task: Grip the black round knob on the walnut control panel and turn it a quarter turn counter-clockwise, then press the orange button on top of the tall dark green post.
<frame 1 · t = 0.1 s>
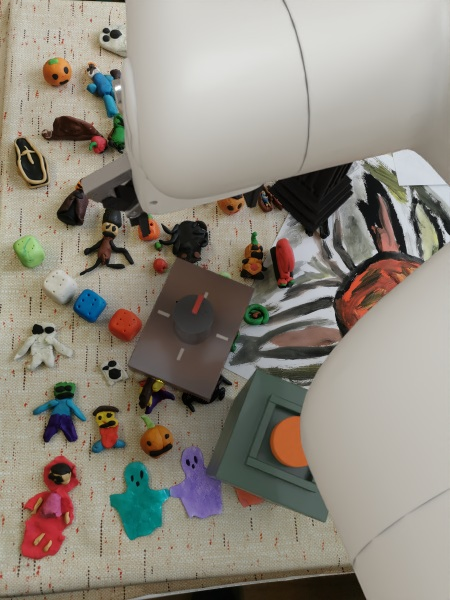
hand: (194, 207, 49), 20 cm above the table, tool pointing down, fingers open, 9 cm apart
handle: (153, 170, 73), on the table
knob: (193, 319, 61), point 6 cm above the table, hinge at 0.0°
button: (295, 441, 41), point 23 cm above the table, slide at 0.0 cm
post: (256, 451, 63), on the table
chess piece: (309, 194, 73), on the table
panel: (192, 331, 67), on the table
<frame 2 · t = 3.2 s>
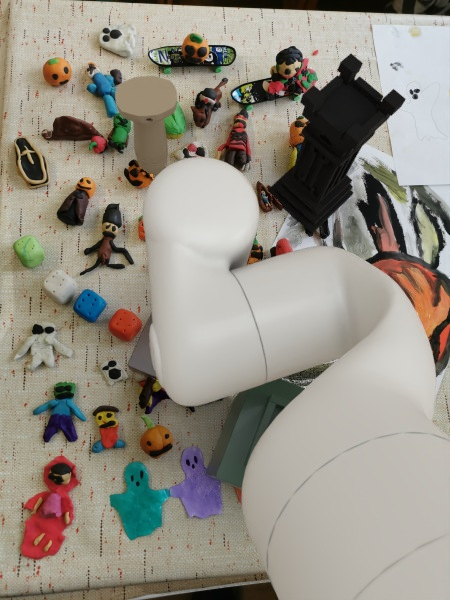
hand: (192, 324, 63), 4 cm above the table, tool pointing down, fingers closed on knob, 4 cm apart
knob: (193, 319, 61), point 6 cm above the table, hinge at -0.2°, touching gripper
everything else where it was.
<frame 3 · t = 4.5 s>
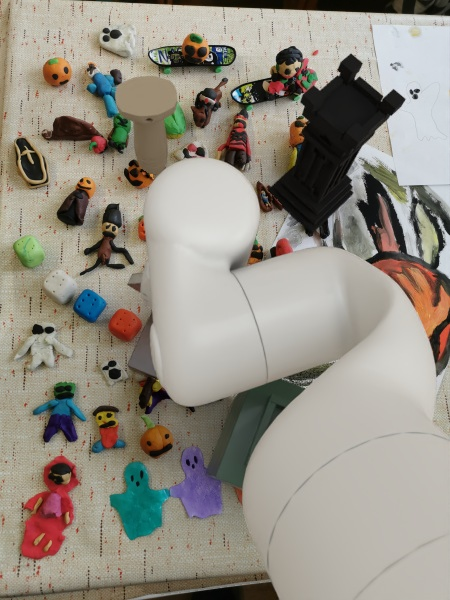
hand: (193, 323, 63), 4 cm above the table, tool pointing down, fingers closed on knob, 4 cm apart
knob: (193, 319, 61), point 6 cm above the table, hinge at 90.6°, touching gripper
everything else where it was.
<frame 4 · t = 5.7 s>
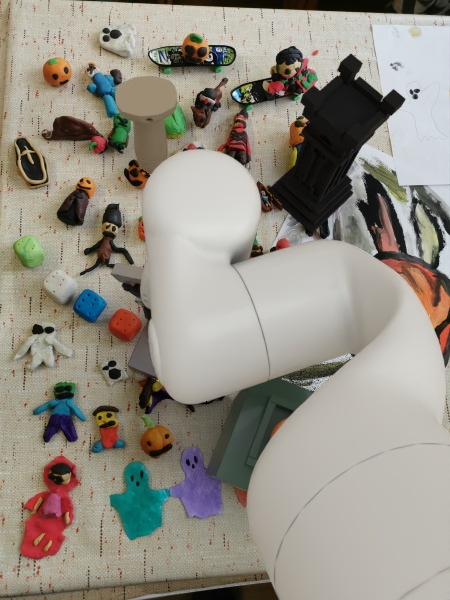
hand: (194, 323, 61), 6 cm above the table, tool pointing down, fingers open, 9 cm apart
knob: (193, 319, 61), point 6 cm above the table, hinge at 92.3°
everything else where it was.
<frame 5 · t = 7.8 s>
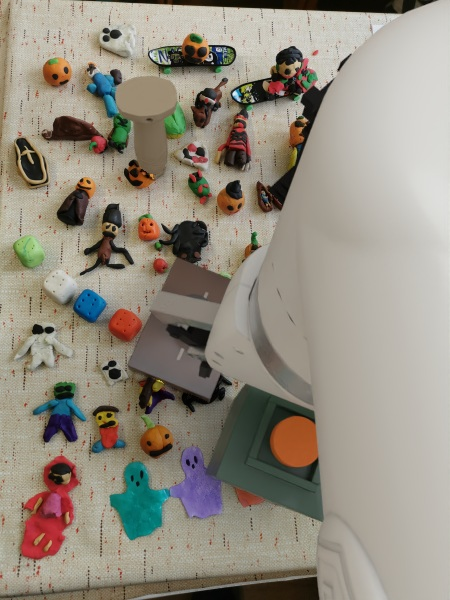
hand: (277, 383, 38), 27 cm above the table, tool pointing down, fingers open, 9 cm apart
nothing on the table moved.
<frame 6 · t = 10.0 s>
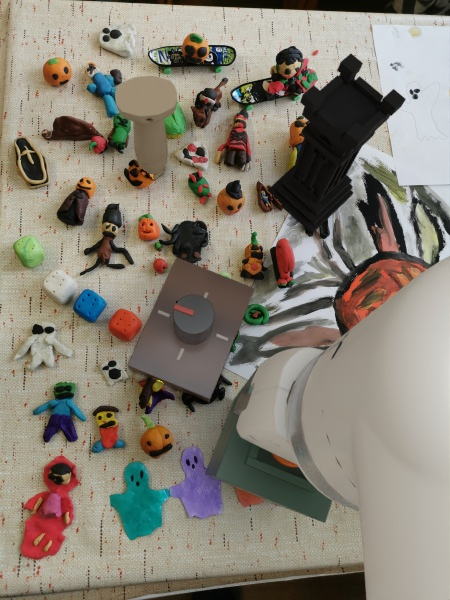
hand: (295, 440, 41), 23 cm above the table, tool pointing down, fingers closed
button: (293, 442, 42), point 22 cm above the table, slide at -0.8 cm, touching gripper
everything else where it was.
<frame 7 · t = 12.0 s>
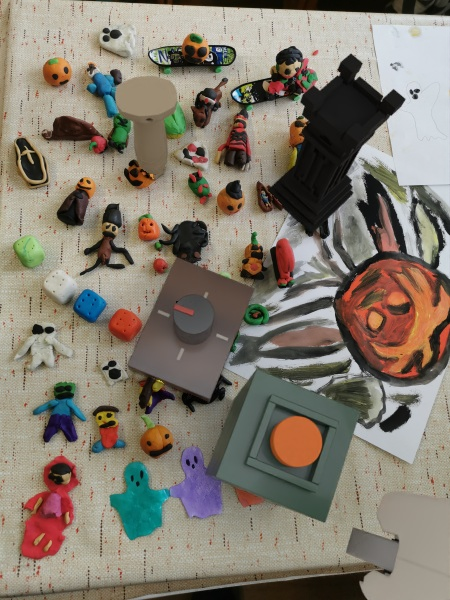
hand: (405, 564, 32), 31 cm above the table, tool pointing down, fingers closed
button: (295, 441, 41), point 23 cm above the table, slide at 0.1 cm
everything else where it was.
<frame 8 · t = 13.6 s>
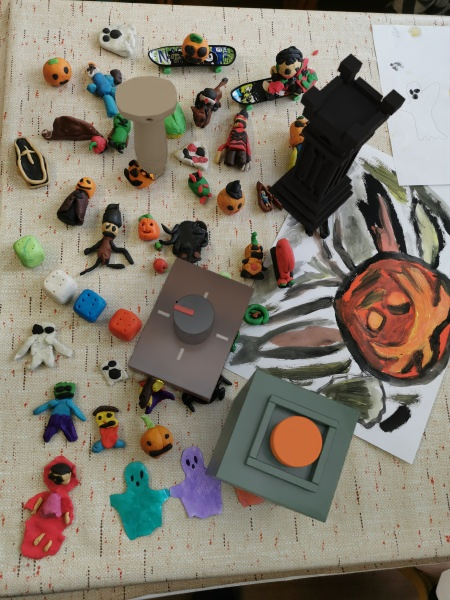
nothing on the table moved.
at the end: knob at +92° (first picture: +0°); button pushed in 1.0 cm at the most during the clip, back to where it started at the end; button slide at 0.1 cm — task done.
